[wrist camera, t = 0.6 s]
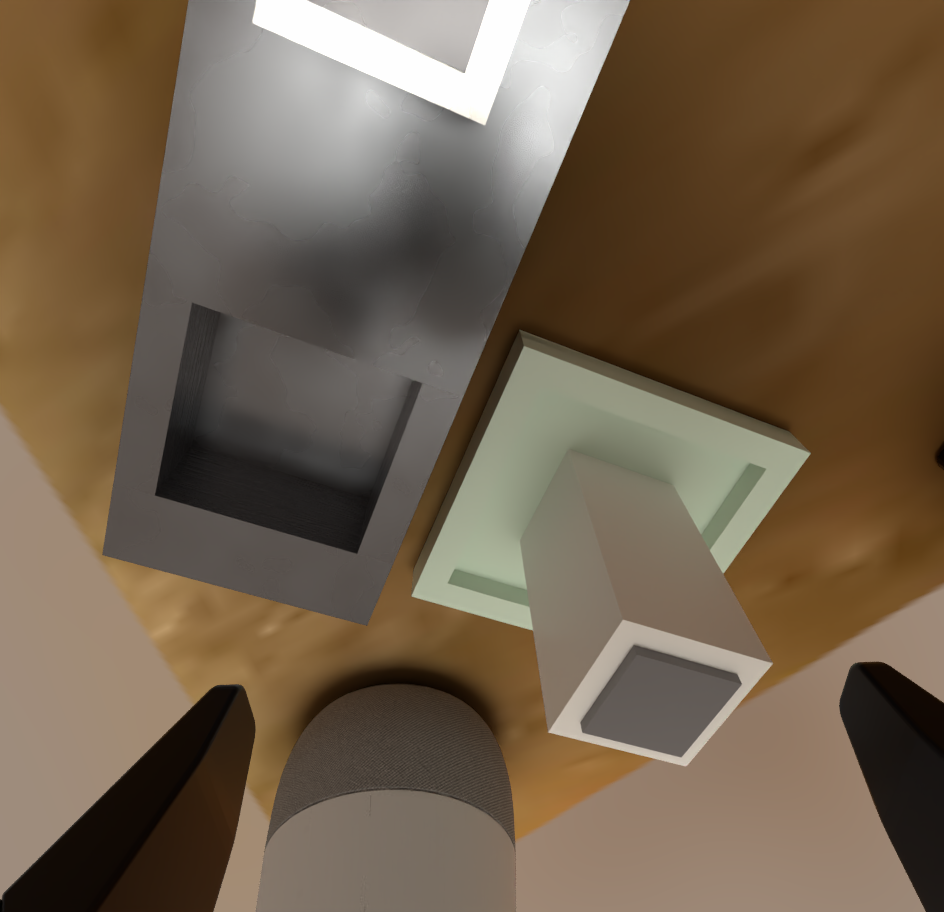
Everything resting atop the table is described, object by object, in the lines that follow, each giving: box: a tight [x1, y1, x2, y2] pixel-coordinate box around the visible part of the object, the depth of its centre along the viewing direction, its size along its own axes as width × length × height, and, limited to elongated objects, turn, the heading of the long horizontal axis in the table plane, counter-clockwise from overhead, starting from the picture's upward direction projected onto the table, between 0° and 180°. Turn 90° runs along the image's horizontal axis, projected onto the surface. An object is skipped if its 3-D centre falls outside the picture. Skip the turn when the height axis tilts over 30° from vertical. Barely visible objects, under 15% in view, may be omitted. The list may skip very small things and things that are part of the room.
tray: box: [411, 329, 811, 630], centre depth 23 cm, size 10×10×2 cm
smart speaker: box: [256, 683, 516, 912], centre depth 23 cm, size 10×9×14 cm
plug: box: [520, 449, 773, 766], centre depth 19 cm, size 4×4×8 cm
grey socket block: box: [102, 0, 630, 626], centre depth 16 cm, size 20×8×7 cm, turn 159°
